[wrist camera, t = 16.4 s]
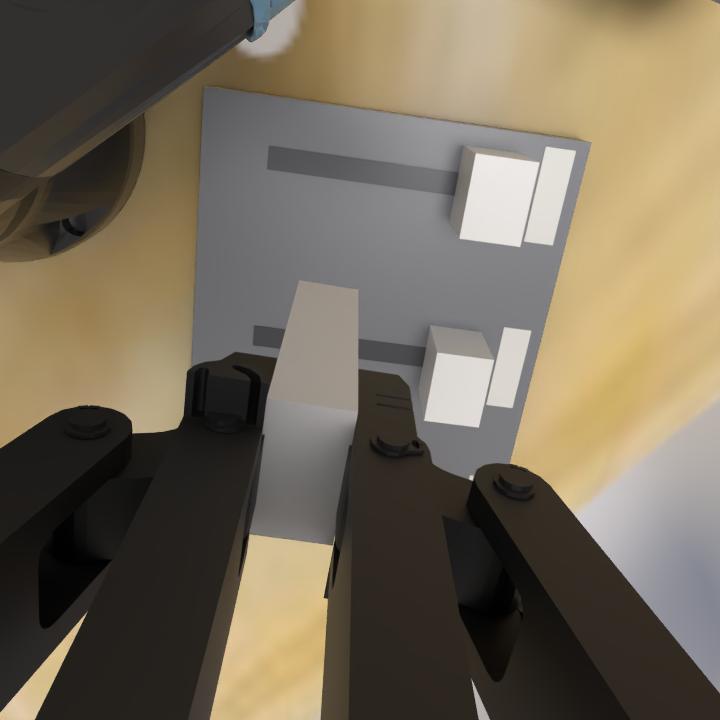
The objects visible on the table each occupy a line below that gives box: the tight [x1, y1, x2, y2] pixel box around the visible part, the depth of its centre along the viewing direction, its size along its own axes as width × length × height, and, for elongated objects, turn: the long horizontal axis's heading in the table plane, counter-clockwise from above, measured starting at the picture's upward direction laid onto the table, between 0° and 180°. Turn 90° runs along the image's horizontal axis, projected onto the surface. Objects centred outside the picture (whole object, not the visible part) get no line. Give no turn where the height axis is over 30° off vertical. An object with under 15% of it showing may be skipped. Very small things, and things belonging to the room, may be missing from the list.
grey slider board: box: [191, 86, 591, 481], centre depth 39 cm, size 20×26×6 cm
